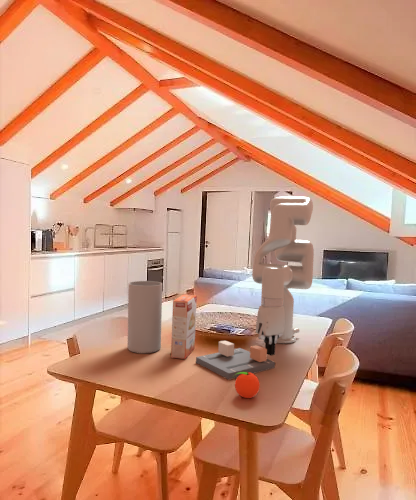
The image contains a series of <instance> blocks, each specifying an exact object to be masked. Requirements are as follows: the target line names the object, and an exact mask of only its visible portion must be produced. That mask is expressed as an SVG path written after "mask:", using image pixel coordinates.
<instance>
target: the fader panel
mask: <svg viewBox="0 0 416 500" xmlns="http://www.w3.org/2000/svg"><path fill="white" fill-rule="evenodd" d="M195 363H196V364H198V365H199V364H200V365H199V366H202V367H204V368H205V367H206V369H207V368H208V370H209V369H210V371H211V372H214V373H215V374H217V375H219V376H221V377H222V378H225V379H227V380H230V381H231V380H233V379H237V377H238V376H239V375H240V374H237V373H239V372H250V373H253V374H256V373H260V372H264V371H268V370H270V369H274V368H275V367H276V366H275V365H276V362H275V361H274V360H271V359H268V358H267V361H263V362H258V361H256V360H254V359H251V358H250V350H246V349H243V348H241V347H238V348H234V355H233V356H228V357H227V356H224V355H222V354H220V353H218V352H215V353H209V354H205V355H200V356H196V357H195ZM235 374H236V375H235ZM233 376H234V377H233Z"/></svg>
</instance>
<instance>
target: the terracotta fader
mask: <svg viewBox="0 0 416 500" xmlns="http://www.w3.org/2000/svg"><path fill="white" fill-rule="evenodd" d="M249 352H250V358H251V359H254V360H256V361H258V362H263V361H267V359H268V358H267V357H268V356H267V355H268V354H267V349H266V348H265V347H262V346H260V345H252V346H250V349H249Z"/></svg>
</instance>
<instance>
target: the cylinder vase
mask: <svg viewBox="0 0 416 500" xmlns="http://www.w3.org/2000/svg"><path fill="white" fill-rule="evenodd" d="M127 293H128V299H127V301H128V302H127V307H128V308H127V345H126V346H127V349H128V351H130V352H131V353H136V354H150V353H155V352H158V351H160V349H161V348H162V312H163V311H162V309H163V308H162V307H163V282H159V281H153V280H138V281H136V280H135V281H130V282H129V283H128V292H127Z"/></svg>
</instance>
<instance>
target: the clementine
mask: <svg viewBox="0 0 416 500" xmlns="http://www.w3.org/2000/svg"><path fill="white" fill-rule="evenodd" d="M237 374H240V375H239V376H238V377H237V378H235V382H234V389H235V391H236V393H237V394H238V395H239V396H240V397H242V398H244V399H252V398H253V397H256V395H257V394H258V392H260V387H261V384H260V380H259V378H258V377H257V376H256V374H255V373H250V372H239V373H237ZM235 375H236V374H235ZM233 377H234V376H233Z"/></svg>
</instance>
